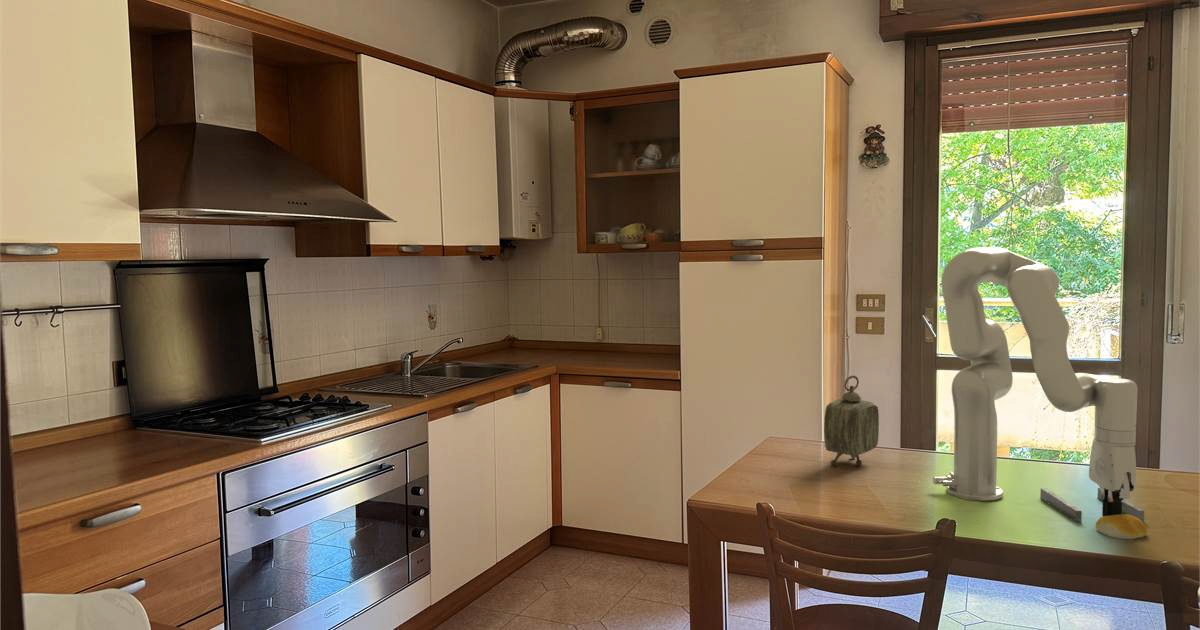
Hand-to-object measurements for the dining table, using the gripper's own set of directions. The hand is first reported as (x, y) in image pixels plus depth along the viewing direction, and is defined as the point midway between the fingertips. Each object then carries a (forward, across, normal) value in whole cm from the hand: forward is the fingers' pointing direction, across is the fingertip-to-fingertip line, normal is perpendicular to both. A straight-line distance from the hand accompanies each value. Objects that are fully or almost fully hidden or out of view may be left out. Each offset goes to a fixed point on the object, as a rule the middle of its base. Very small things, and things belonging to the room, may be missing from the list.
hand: (1111, 517), depth 175 cm
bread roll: (+2, +6, -1) cm, 6 cm away
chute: (+1, -9, 0) cm, 9 cm away
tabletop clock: (+1, -47, -44) cm, 64 cm away
